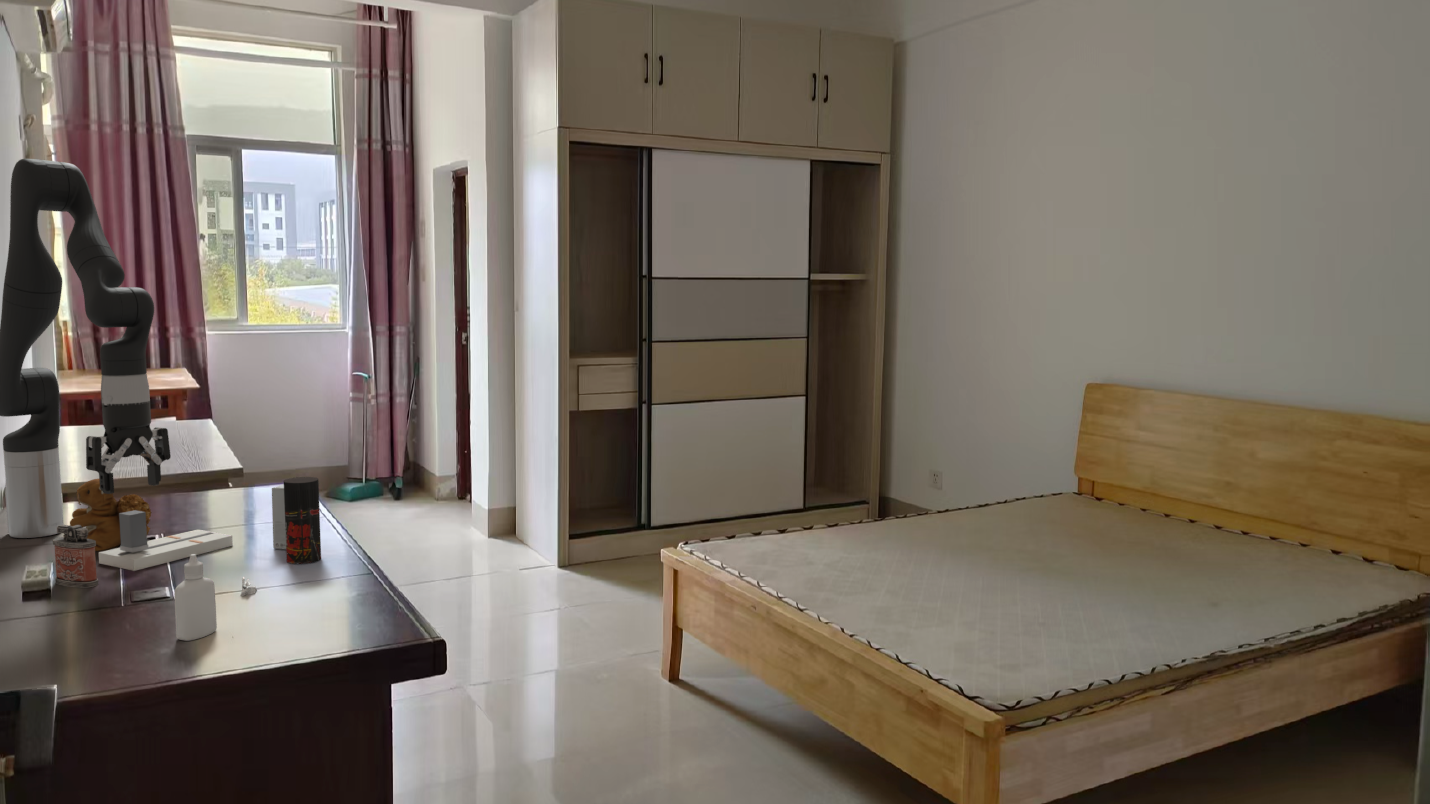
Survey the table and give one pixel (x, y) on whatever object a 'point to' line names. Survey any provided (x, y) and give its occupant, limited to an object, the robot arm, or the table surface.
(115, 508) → the stuffed squirrel
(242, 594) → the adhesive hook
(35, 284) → the robot arm
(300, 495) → the deodorant
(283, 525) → the skincare box
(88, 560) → the lighter
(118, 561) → the panel
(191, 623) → the eye dropper bottle
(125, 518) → the fader
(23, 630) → the table surface
